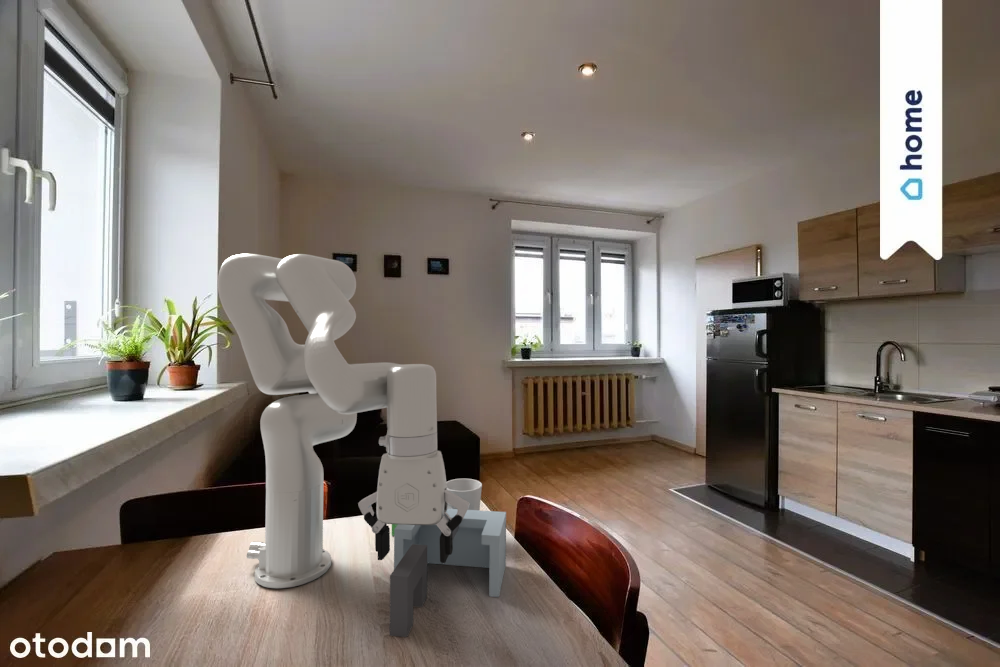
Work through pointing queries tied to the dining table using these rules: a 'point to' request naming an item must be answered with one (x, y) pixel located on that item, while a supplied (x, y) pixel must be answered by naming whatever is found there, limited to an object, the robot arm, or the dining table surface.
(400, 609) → the grey arch block
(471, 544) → the shelf
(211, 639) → the dining table surface
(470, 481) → the cup
